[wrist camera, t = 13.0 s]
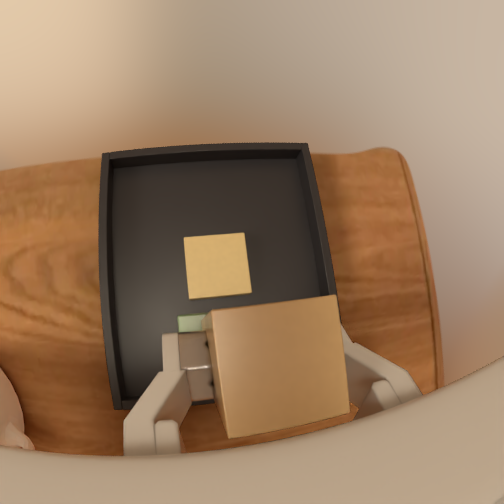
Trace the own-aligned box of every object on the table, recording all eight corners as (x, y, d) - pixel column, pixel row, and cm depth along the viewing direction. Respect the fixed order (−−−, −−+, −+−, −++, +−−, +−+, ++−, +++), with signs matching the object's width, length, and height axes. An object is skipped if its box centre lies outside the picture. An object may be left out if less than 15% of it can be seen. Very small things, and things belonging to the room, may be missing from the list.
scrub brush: (278, 306, 16) (369, 277, 8) (286, 375, 16) (385, 412, 7) (178, 317, 15) (163, 299, 7) (187, 389, 15) (186, 456, 6)
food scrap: (242, 236, 23) (244, 232, 22) (249, 294, 22) (252, 292, 21) (183, 241, 22) (183, 237, 21) (189, 300, 21) (189, 299, 20)
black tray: (299, 156, 26) (307, 143, 24) (335, 374, 22) (348, 378, 20) (107, 166, 23) (101, 152, 21) (120, 403, 19) (113, 410, 17)
